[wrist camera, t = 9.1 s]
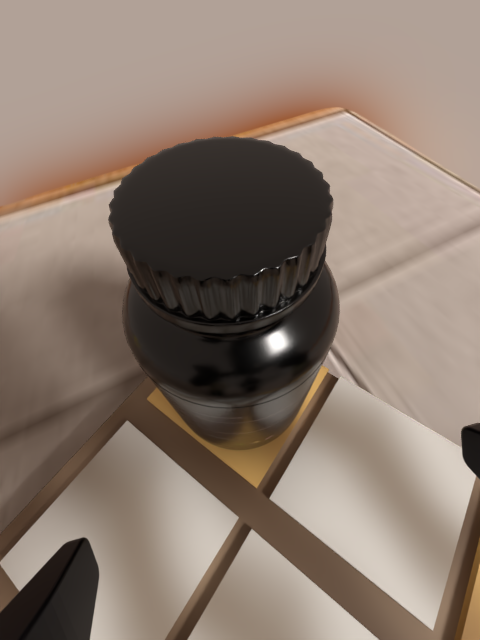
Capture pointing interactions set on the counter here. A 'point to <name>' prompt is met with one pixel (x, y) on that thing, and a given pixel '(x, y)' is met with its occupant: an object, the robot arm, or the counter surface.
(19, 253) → the counter surface
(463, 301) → the counter surface
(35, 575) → the robot arm
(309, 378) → the supplement bottle
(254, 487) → the wooden tray
